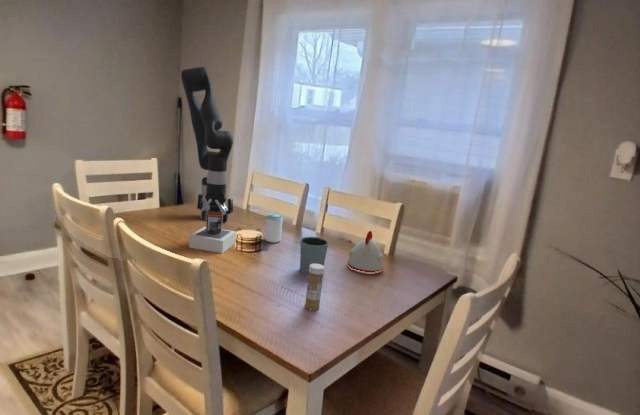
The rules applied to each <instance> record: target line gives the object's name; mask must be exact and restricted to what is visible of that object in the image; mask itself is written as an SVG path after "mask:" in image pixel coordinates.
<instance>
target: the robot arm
mask: <svg viewBox="0 0 640 415" xmlns="http://www.w3.org/2000/svg"><path fill="white" fill-rule="evenodd" d="M180 72H181V73H180V78H181V83H182V86H183V91H184V93H185V96H186V100H187V105H188V108H189V114H190V120H191V124H192V130H193V133H194V137H195V142H196V147H197V154H198V155H197V156H198V165H199V167H200V168H201V169H202V170H205V171H207V174H206V175H207V176H205V177H202V178H201V192H200V194H198V196H197V207H196V209H198V210H199V219H200V220H202V221H207V211H208V210H210V205H211V206H217V207H219V208H220V210H221V211H222V224H223V225H224V224H226V223H227V222H228V218H229V215H230V214H232V213H233V212H234V198H233V197H231V198H227V197H226V193H227V182H228V180H227V178H228V177H227V176H228V175H227V174H228V173H227V169H228V168H227V167H228V159H229V157H230V153H231V151H232V148H233V145H234V136H233V135H232V133H231V132H230V131H227V130H221V129H222V127H223V121H222V118H221V116H220V112H219V109H218V106H217V102H216V97H215V93H214V90H213V89H214V88H213V84H212V81H211V76H210V73H209V71H208V69H207V68H206V67H204V66H198V67H193V68H186V69H182V70H181V71H180ZM202 91H205V92H204V93H205V94H204V98H203V101H202V102H200V101H199V100H198V99H197V97H196V96H195V94H194V93H195V92H202ZM208 148H209V149H211V150H219V151H211V150H208ZM225 203H226V204H227V206H226V204H225Z"/></svg>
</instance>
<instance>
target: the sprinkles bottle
mask: <svg viewBox="0 0 640 415" xmlns="http://www.w3.org/2000/svg"><path fill="white" fill-rule="evenodd" d="M324 274H325V265H324V266H323V265H321V264H311V265H310V266H309V276H308V281H307V286H306V295H305V302H304V303H305V304H304V307H305V309H307V310H309V309H311V310H310V311H317V310H319V309H318V308H320V302H321V297H322V296H321V295H322V294H321V293H322V288H323V278H324ZM316 309H317V310H316Z"/></svg>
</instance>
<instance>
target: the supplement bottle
mask: <svg viewBox="0 0 640 415" xmlns="http://www.w3.org/2000/svg"><path fill="white" fill-rule="evenodd" d="M222 221H223V212H222V210H220V208H219V207H217V206H211V205H210V210H208V211H207V220H206V226H205V227H206V232H207V233H209V234H219V233H221V229H222V224H223V223H222Z"/></svg>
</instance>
